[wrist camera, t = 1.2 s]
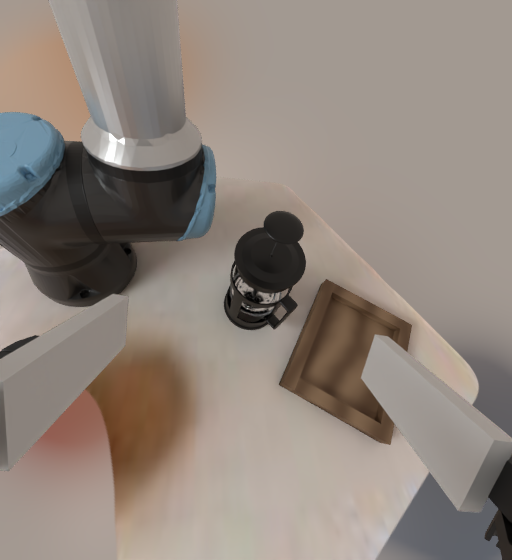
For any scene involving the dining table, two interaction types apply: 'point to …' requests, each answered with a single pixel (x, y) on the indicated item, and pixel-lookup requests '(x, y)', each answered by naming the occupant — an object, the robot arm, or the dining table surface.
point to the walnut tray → (343, 358)
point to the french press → (266, 271)
